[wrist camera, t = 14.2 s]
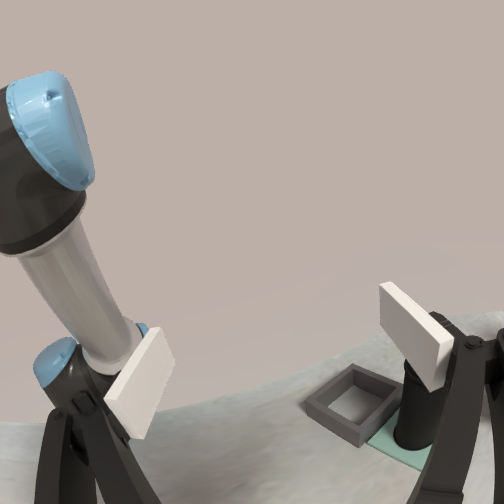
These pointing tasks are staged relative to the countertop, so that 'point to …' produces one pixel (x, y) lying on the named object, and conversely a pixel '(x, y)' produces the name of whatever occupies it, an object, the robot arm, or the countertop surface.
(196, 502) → the countertop surface
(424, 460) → the occupied pad
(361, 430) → the grey square tray
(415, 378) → the aerosol can
